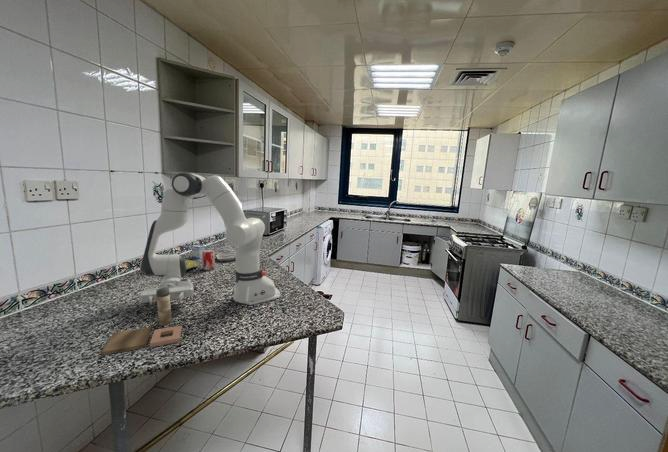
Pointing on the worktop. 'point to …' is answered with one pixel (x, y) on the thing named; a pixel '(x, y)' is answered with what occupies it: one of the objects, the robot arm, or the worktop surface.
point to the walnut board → (127, 340)
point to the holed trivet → (166, 336)
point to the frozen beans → (191, 264)
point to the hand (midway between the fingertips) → (165, 300)
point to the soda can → (208, 259)
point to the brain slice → (226, 256)
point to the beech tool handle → (164, 306)
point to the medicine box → (197, 251)
